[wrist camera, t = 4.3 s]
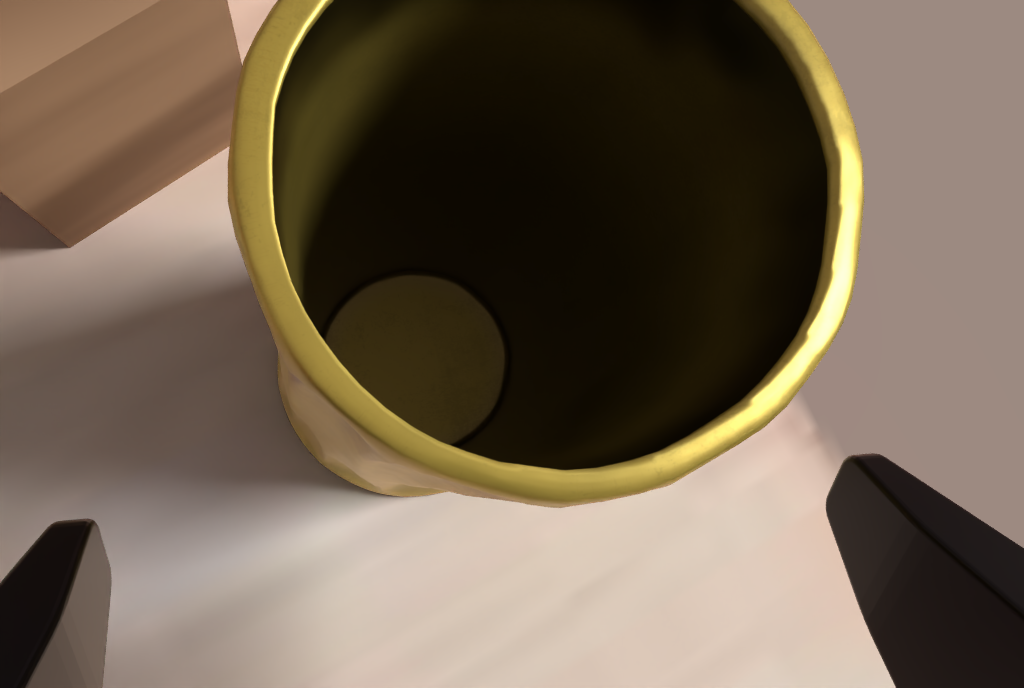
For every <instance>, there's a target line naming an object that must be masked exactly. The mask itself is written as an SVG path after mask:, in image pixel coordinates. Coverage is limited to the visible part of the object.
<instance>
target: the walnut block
mask: <svg viewBox="0 0 1024 688" xmlns="http://www.w3.org/2000/svg"><path fill="white" fill-rule="evenodd" d="M241 70H242V63H241V59H240V54H239V50H238V45H237V41H236V37H235V32H234V28H233V24H232V19H231V15H230V11H229V6H228V2H227V0H0V192H2V193H3V194H4V195H5V196H7V197H8V198H9V199H10V200H11V201H13V202H14V203H15V204H16V205H18V206H19V207H20V208H21V209H22V210H24V211H25V212H26V213H27V214H29V215H30V216H31V217H32V218H34V219H35V220H36V221H37V222H38V223H40V224H41V225H42V226H43V227H45V228H46V229H47V230H48V231H49V232H51V233H52V234H53V235H54V236H56V237H57V238H58V239H59V240H61V241H62V242H63V243H64V244H65V245H67V246H68V247H69V248H70V247H72V246H73V245H75V244H77V243H78V242H80V241H81V240H83V239H84V238H86V237H88V236H89V235H91V234H92V233H94V232H95V231H97V230H99V229H100V228H102V227H103V226H105V225H106V224H108V223H109V222H111V221H113V220H114V219H116V218H117V217H119V216H120V215H122V214H124V213H125V212H127V211H128V210H130V209H131V208H133V207H135V206H136V205H138V204H139V203H141V202H142V201H144V200H146V199H147V198H149V197H150V196H152V195H153V194H155V193H156V192H158V191H160V190H161V189H163V188H164V187H166V186H167V185H169V184H171V183H172V182H174V181H175V180H177V179H178V178H180V177H182V176H183V175H185V174H186V173H188V172H189V171H191V170H193V169H194V168H196V167H197V166H199V165H200V164H202V163H203V162H205V161H207V160H208V159H210V158H211V157H213V156H214V155H216V154H218V153H219V152H221V151H222V150H224V149H225V148H227V147H229V146H230V140H231V130H232V121H233V113H234V105H235V97H236V90H237V86H238V82H239V78H240V74H241Z"/></svg>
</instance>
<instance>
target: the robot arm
mask: <svg viewBox="0 0 1024 688" xmlns="http://www.w3.org/2000/svg"><path fill="white" fill-rule="evenodd" d="M826 513H827V517H828V520H829V523H830V526H831V529H832V531H833V534H834V537H835V540H836V543H837V546H838V548H839V551H840V554H841V557H842V560H843V562H844V565H845V568H846V571H847V574H848V577H849V579H850V582H851V585H852V588H853V591H854V593H855V596H856V599H857V602H858V605H859V607H860V610H861V612H862V615H863V617H864V620H865V622H866V625H867V627H868V629H869V631H870V634H871V636H872V638H873V640H874V643H875V645H876V647H877V649H878V651H879V653H880V655H881V657H882V659H883V661H884V664H885V666H886V668H887V670H888V672H889V674H890V676H891V678H892V680H893V682H894V685H895V687H896V688H1024V548H1022V547H1021V546H1019V545H1018V544H1016V543H1015V542H1013V541H1012V540H1010V539H1009V538H1007V537H1006V536H1004V535H1003V534H1001V533H1000V532H998V531H997V530H995V529H994V528H992V527H991V526H989V525H988V524H986V523H984V522H983V521H981V520H980V519H978V518H977V517H975V516H974V515H972V514H971V513H969V512H968V511H966V510H965V509H963V508H962V507H960V506H959V505H957V504H955V503H954V502H953V501H951V500H950V499H948V498H946V497H945V496H943V495H942V494H940V493H939V492H937V491H936V490H934V489H933V488H931V487H930V486H928V485H927V484H925V483H924V482H922V481H921V480H919V479H918V478H916V477H915V476H913V475H912V474H910V473H908V472H907V471H905V470H904V469H902V468H901V467H899V466H898V465H896V464H895V463H893V462H892V461H890V460H889V459H887V458H886V457H884V456H882V455H880V454H873V453H872V454H860V455H851V456H848V457H847V458H846V459H845V460H844V461H843V463H842V465H841V467H840V469H839V471H838V474H837V476H836V478H835V480H834V482H833V485H832V487H831V489H830V491H829V493H828V496H827V499H826ZM110 595H111V570H110V564H109V561H108V558H107V554H106V551H105V548H104V544H103V541H102V538H101V534H100V531H99V528H98V525H97V524H96V523H95V521H94V520H92V519H78V520H66V521H58V522H55V523H53V524H51V525H50V526H49V527H48V528H47V529H46V530H45V531H44V532H43V533H42V535H41V536H40V537H39V538H38V539H37V540H36V542H35V543H34V544H33V545H32V546H31V547H30V549H29V550H28V551H27V552H26V553H25V555H24V556H23V557H22V558H21V559H20V560H19V562H18V563H17V564H16V565H15V566H14V567H13V569H12V570H11V571H10V572H9V573H8V574H7V576H6V577H5V578H4V579H3V580H2V581H1V583H0V688H102V686H103V675H104V664H105V652H106V641H107V629H108V618H109V607H110Z"/></svg>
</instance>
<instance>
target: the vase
mask: <svg viewBox="0 0 1024 688" xmlns="http://www.w3.org/2000/svg"><path fill="white" fill-rule="evenodd" d="M228 204H229V209H230V214H231V218H232V223H233V228H234V232H235V237H236V240H237V243H238V245H239V248H240V251H241V254H242V257H243V260H244V263H245V266H246V268H247V271H248V274H249V277H250V280H251V282H252V285H253V288H254V291H255V293H256V296H257V299H258V302H259V304H260V307H261V309H262V311H263V314H264V316H265V319H266V321H267V323H268V326H269V328H270V330H271V333H272V336H273V339H274V342H275V344H276V347H277V349H278V385H279V390H280V394H281V398H282V401H283V404H284V407H285V410H286V413H287V416H288V418H289V421H290V423H291V425H292V427H293V428H294V430H295V432H296V434H297V435H298V436H299V438H300V439H301V441H302V442H303V444H304V445H305V446H306V447H307V449H308V450H309V451H310V452H311V454H312V455H313V456H314V457H315V458H316V459H317V460H318V461H319V463H321V464H322V465H324V466H325V467H326V468H328V469H329V470H330V471H332V472H333V473H335V474H336V475H338V476H339V477H341V478H343V479H345V480H347V481H349V482H351V483H353V484H355V485H357V486H359V487H362V488H364V489H367V490H370V491H373V492H377V493H381V494H386V495H393V496H402V497H409V496H424V495H431V494H437V493H443V492H453V493H457V494H462V495H466V496H473V497H482V498H491V499H499V500H506V501H514V502H520V503H525V504H529V505H536V506H544V507H553V508H562V507H569V506H576V505H582V504H589V503H595V502H603V501H608V500H612V499H617V498H622V497H627V496H631V495H636V494H640V493H644V492H647V491H650V490H654V489H658V488H662V487H665V486H669V485H671V484H673V483H674V482H676V481H678V480H679V479H681V478H683V477H684V476H686V475H688V474H690V473H691V472H693V471H695V470H696V469H698V468H700V467H701V466H703V465H705V464H706V463H708V462H710V461H711V460H713V459H715V458H716V457H718V456H720V455H721V454H723V453H725V452H726V451H728V450H730V449H731V448H733V447H735V446H736V445H738V444H740V443H741V442H743V441H744V440H746V439H747V438H749V437H750V436H752V435H753V434H755V433H756V432H758V431H759V430H761V429H762V428H764V427H765V426H766V425H767V424H768V423H769V422H770V421H772V420H773V419H774V418H775V417H776V416H777V415H778V414H779V413H780V412H781V411H782V410H783V409H784V408H786V407H787V405H788V404H789V403H790V401H791V400H792V399H793V397H794V396H795V395H796V394H797V392H798V391H799V390H800V388H801V387H802V386H803V384H804V383H805V382H806V381H807V379H808V378H809V377H810V375H811V374H812V372H813V371H814V369H815V368H816V367H817V365H818V364H819V362H820V361H821V359H822V358H823V356H824V355H825V354H826V352H827V351H828V349H829V347H830V346H831V343H832V342H833V340H834V338H835V336H836V335H837V333H838V331H839V329H840V327H841V326H842V324H843V321H844V318H845V316H846V313H847V310H848V308H849V305H850V302H851V299H852V294H853V289H854V284H855V279H856V274H857V267H858V257H859V248H860V238H861V228H862V217H863V205H864V182H863V160H862V156H861V151H860V146H859V142H858V137H857V132H856V128H855V125H854V122H853V119H852V116H851V113H850V110H849V107H848V104H847V101H846V98H845V95H844V92H843V90H842V88H841V86H840V84H839V81H838V79H837V77H836V75H835V73H834V70H833V68H832V66H831V64H830V62H829V59H828V58H827V56H826V54H825V52H824V51H823V49H822V47H821V46H820V44H819V42H818V41H817V39H816V37H815V36H814V34H813V32H812V31H811V29H810V27H809V26H808V24H807V23H806V22H805V21H804V20H803V18H802V17H801V16H800V15H799V13H798V12H797V11H796V9H795V8H794V7H793V6H792V4H791V3H790V2H789V1H788V0H278V1H277V2H276V4H275V5H274V6H273V8H272V9H271V11H270V12H269V14H268V16H267V17H266V19H265V21H264V22H263V24H262V26H261V27H260V29H259V31H258V32H257V34H256V36H255V38H254V40H253V42H252V44H251V46H250V48H249V51H248V53H247V55H246V57H245V59H244V61H243V66H242V70H241V74H240V78H239V82H238V86H237V90H236V97H235V105H234V113H233V121H232V130H231V140H230V149H229V159H228Z"/></svg>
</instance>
